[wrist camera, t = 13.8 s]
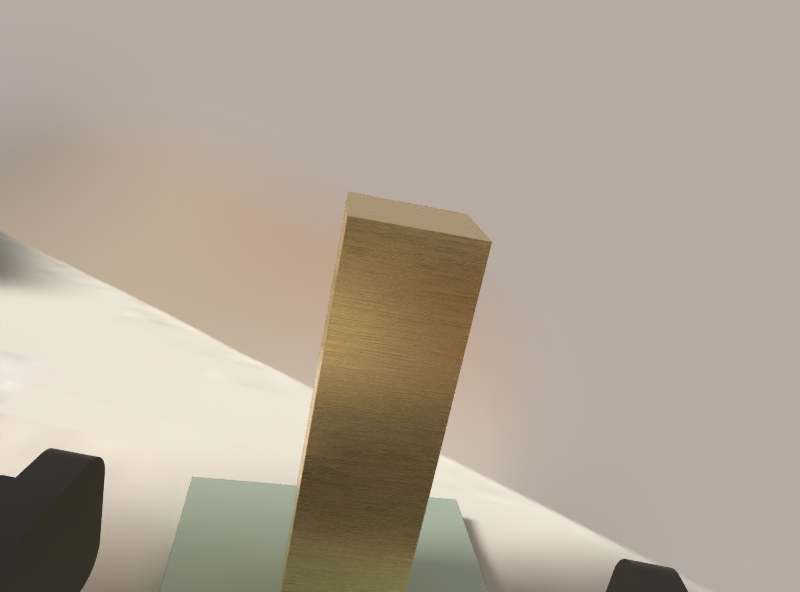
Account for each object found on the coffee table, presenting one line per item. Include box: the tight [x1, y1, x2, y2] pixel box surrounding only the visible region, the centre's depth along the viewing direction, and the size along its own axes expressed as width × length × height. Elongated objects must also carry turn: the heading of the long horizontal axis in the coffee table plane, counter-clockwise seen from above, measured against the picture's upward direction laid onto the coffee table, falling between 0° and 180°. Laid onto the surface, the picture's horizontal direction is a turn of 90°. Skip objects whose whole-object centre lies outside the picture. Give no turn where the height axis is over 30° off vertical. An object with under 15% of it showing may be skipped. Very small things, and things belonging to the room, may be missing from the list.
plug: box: [280, 192, 492, 592], centre depth 21 cm, size 4×4×14 cm
